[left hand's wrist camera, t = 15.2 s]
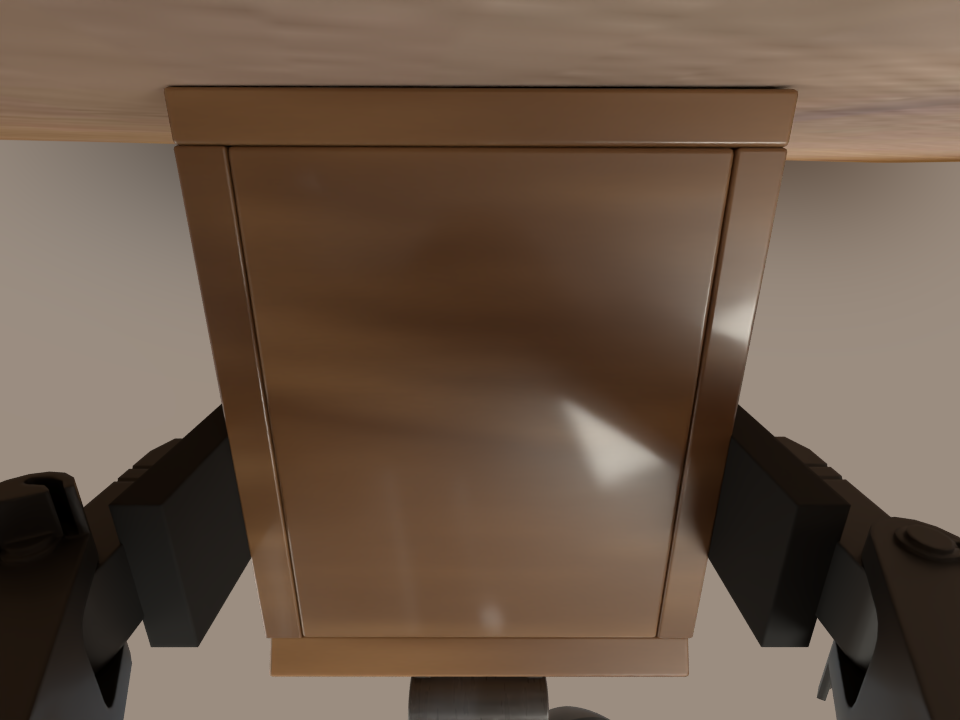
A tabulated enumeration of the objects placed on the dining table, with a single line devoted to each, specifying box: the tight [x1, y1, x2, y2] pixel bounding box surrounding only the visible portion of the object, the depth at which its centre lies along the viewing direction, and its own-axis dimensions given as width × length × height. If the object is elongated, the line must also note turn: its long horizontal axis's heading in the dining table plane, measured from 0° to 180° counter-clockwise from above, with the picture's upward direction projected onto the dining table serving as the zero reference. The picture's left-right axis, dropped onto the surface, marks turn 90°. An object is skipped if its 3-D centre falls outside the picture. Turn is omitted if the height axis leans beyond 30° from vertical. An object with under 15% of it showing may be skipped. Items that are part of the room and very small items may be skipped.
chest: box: [164, 87, 798, 638], centre depth 15 cm, size 13×9×10 cm
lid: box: [270, 634, 689, 720], centre depth 17 cm, size 14×9×9 cm, turn 0°
